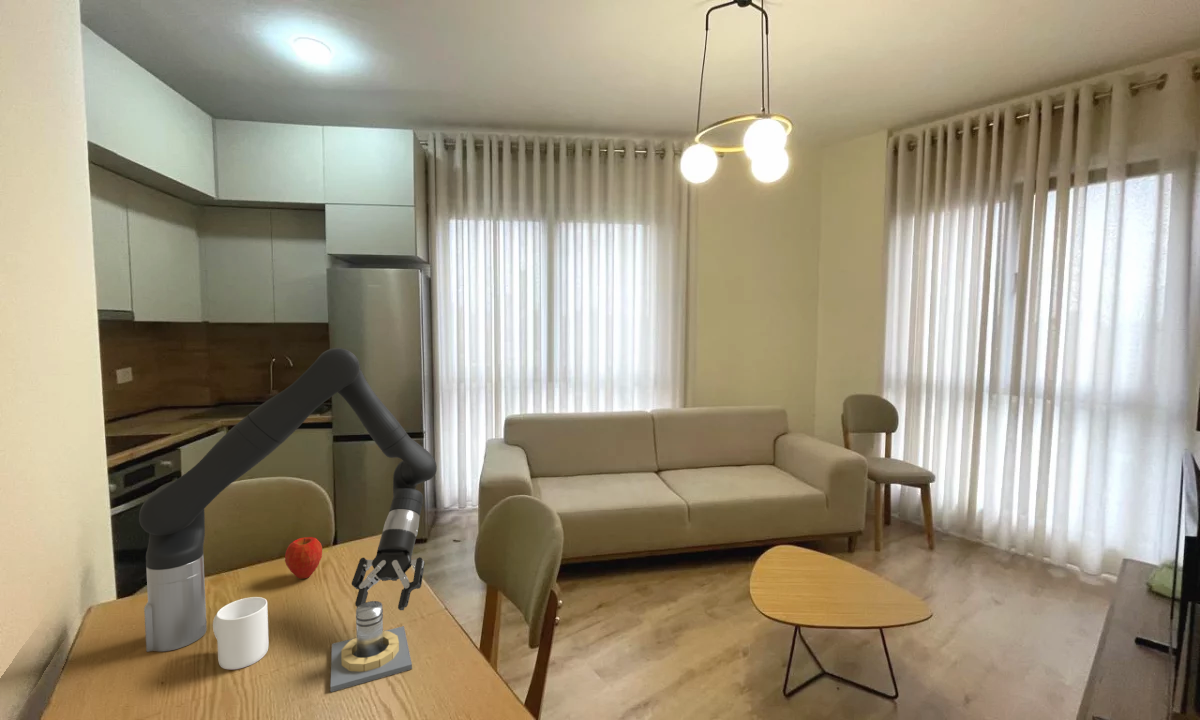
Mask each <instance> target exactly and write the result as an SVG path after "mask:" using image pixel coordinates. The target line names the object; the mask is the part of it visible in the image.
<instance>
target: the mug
mask: <svg viewBox="0 0 1200 720" xmlns="http://www.w3.org/2000/svg"><path fill="white" fill-rule="evenodd" d="M268 613H269V612H268V600H267V599H266V598H264V597H261V596H251V597H244V598H241V599H237V600H235V601H231V602H230V603H227V604H225V605H224V606H223V607H221V608H219V610H218V611H217V613H216V614H215V615H214V617H213V621H212V630H213V634H214V637H215V638H216V640H217V641H216V642H217V659H218V664H219V666H220V667H221V668H222V669H224V670H232V671H233V670H239V669H243V668H246V667H249V666H251V665H254V664H256V663H257V662H259V661H260V660H261V659H262V658H263V657H264V656H266V655H267V653H268V650H269V616H268V615H269V614H268Z"/></svg>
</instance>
